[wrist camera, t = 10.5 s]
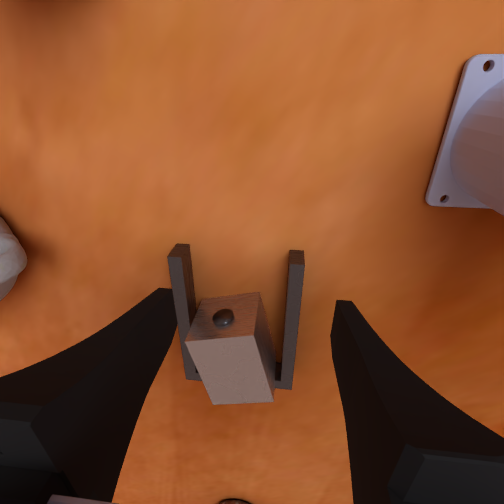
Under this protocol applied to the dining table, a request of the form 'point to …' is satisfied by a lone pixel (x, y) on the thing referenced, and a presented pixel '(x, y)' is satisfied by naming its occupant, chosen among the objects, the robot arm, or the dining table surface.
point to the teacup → (9, 259)
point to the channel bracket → (187, 310)
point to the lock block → (234, 349)
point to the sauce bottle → (233, 502)
